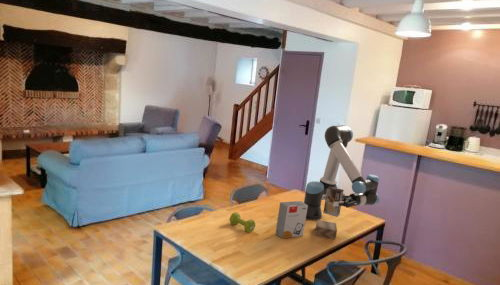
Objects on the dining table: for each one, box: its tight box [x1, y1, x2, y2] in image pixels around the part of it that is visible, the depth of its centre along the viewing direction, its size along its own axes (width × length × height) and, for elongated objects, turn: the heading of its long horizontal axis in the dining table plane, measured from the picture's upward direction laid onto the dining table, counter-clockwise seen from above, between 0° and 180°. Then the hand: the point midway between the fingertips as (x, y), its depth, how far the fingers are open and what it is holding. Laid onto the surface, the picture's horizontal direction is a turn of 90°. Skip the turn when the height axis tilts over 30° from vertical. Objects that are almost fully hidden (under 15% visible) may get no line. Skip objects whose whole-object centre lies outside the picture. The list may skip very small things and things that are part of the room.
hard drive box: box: [275, 200, 308, 239], centre depth 212 cm, size 16×8×20 cm, turn 117°
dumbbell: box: [228, 212, 256, 233], centre depth 215 cm, size 16×8×7 cm, turn 47°
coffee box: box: [323, 187, 344, 218], centre depth 218 cm, size 9×6×16 cm
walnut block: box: [315, 219, 338, 240], centre depth 220 cm, size 12×12×6 cm
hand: (328, 200), depth 216 cm, fingers closed on coffee box, 11 cm apart
